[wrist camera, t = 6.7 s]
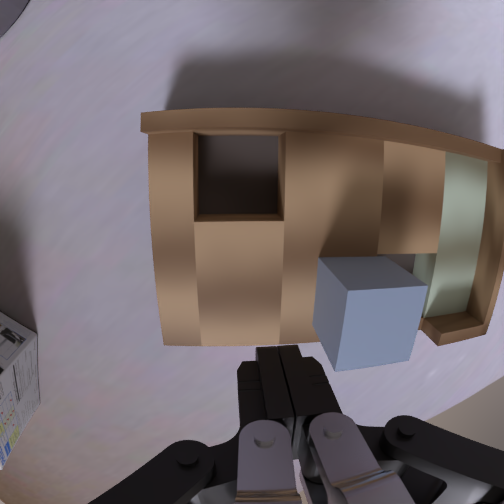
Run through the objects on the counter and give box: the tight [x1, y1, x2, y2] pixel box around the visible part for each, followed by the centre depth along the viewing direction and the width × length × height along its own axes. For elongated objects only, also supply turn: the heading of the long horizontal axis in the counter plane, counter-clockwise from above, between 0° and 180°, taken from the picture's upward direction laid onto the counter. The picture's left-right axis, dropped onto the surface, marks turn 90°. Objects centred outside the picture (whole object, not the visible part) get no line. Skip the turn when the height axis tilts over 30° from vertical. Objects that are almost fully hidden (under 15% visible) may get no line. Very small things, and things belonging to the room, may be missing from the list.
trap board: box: [141, 108, 504, 346], centre depth 18 cm, size 14×24×6 cm, turn 90°
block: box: [312, 256, 428, 372], centre depth 16 cm, size 4×4×5 cm
